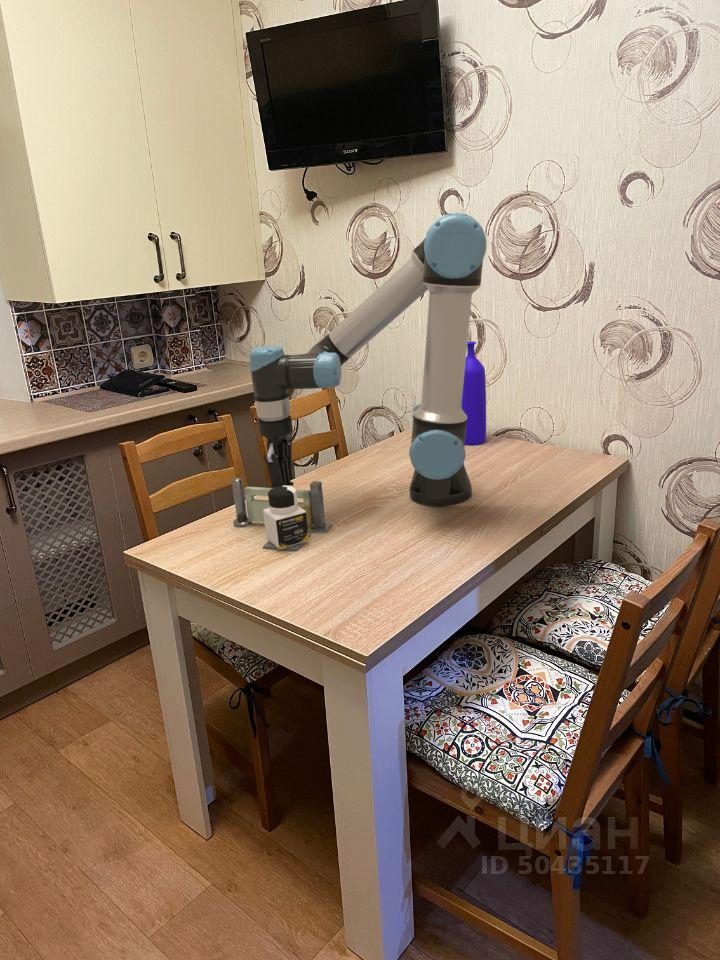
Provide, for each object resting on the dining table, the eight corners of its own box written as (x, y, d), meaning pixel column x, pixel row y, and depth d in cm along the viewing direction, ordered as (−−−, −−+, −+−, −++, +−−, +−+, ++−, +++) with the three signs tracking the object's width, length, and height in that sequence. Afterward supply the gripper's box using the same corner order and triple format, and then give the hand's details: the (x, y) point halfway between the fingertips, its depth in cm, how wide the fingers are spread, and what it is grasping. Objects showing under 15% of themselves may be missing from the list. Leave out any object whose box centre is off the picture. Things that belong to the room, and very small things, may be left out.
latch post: (332, 525, 161) (328, 479, 157) (325, 533, 157) (321, 486, 153) (308, 523, 163) (304, 478, 159) (301, 531, 159) (296, 485, 155)
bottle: (458, 446, 210) (455, 345, 200) (459, 438, 218) (456, 340, 208) (486, 445, 209) (485, 343, 199) (486, 437, 217) (485, 339, 207)
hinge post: (255, 520, 167) (249, 476, 163) (247, 527, 163) (240, 482, 159) (238, 518, 168) (232, 475, 165) (230, 526, 165) (223, 481, 161)
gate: (248, 520, 164) (244, 488, 161) (251, 518, 165) (247, 486, 163) (311, 525, 159) (308, 492, 156) (314, 523, 160) (310, 490, 157)
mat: (311, 535, 156) (311, 534, 156) (297, 551, 149) (296, 549, 149) (278, 533, 159) (278, 531, 159) (262, 548, 152) (262, 546, 152)
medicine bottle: (279, 550, 149) (273, 497, 145) (266, 539, 155) (259, 488, 151) (309, 541, 152) (304, 489, 148) (295, 530, 158) (289, 480, 154)
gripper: (268, 409, 165) (280, 502, 173) (247, 424, 153) (262, 524, 161) (298, 408, 163) (310, 502, 171) (280, 424, 151) (293, 524, 159)
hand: (286, 513), depth 166 cm, fingers closed
